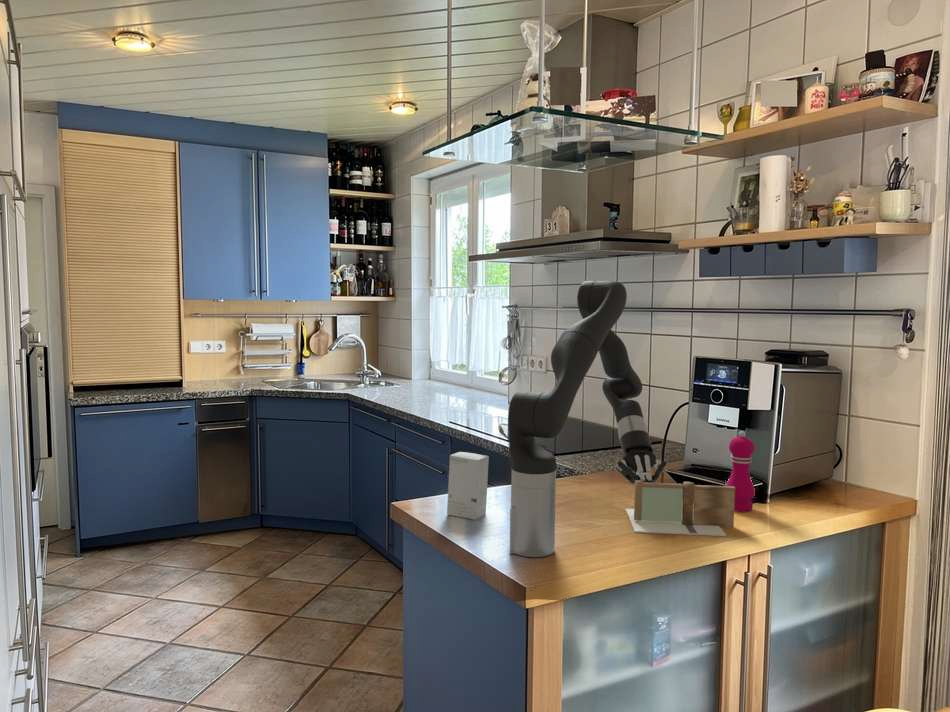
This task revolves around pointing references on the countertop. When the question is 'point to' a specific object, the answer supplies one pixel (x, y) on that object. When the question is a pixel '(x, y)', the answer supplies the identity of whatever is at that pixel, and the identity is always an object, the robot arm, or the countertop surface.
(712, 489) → the fixed fence
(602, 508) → the countertop surface
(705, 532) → the card
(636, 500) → the swing panel
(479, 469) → the skincare box
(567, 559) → the countertop surface
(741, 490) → the pepper mill
